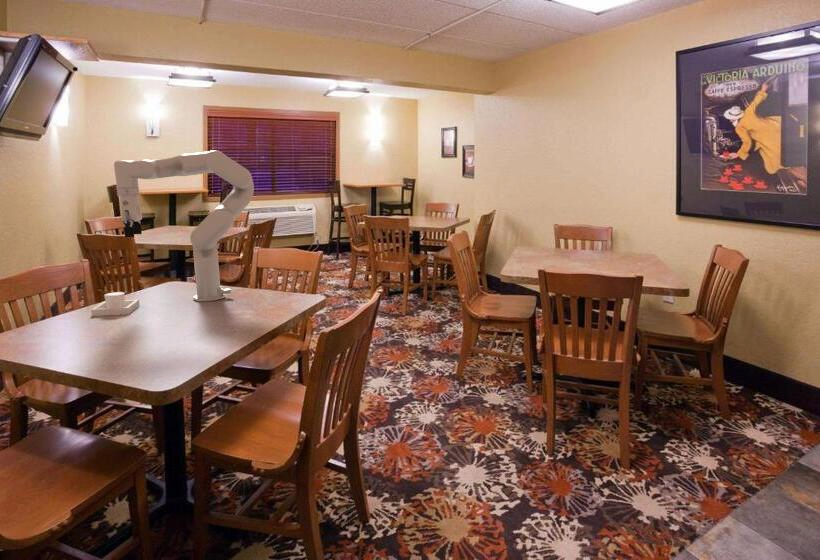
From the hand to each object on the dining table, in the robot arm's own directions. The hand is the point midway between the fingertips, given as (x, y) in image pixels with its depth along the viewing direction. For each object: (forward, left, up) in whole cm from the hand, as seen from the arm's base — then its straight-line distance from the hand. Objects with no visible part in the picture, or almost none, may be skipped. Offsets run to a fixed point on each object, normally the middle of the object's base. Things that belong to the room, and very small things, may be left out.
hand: (133, 235), depth 198 cm
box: (+6, +10, -28) cm, 31 cm away
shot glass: (+6, +11, -28) cm, 31 cm away
